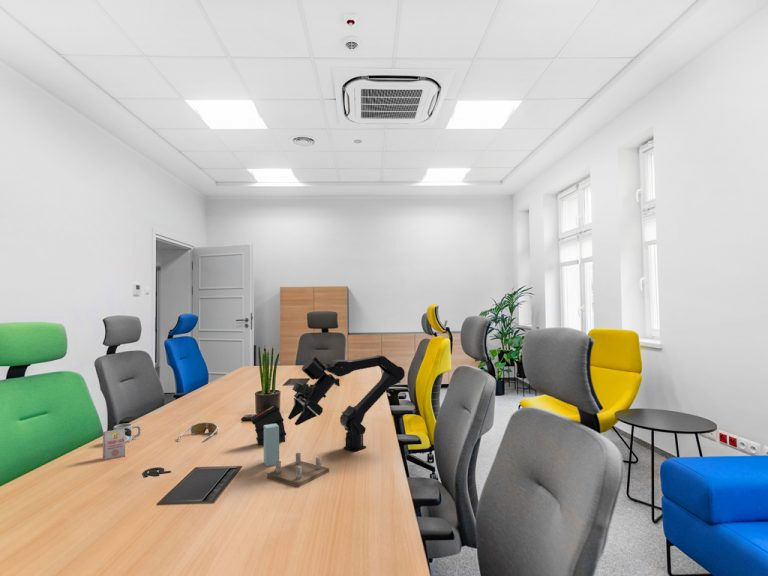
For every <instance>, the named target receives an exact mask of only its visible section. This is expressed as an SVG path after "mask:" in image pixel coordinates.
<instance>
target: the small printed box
mask: <svg viewBox="0 0 768 576" xmlns="http://www.w3.org/2000/svg"><path fill="white" fill-rule="evenodd" d="M124 457H126V443H125V428H124V429H118V430H114V429H113V430H106V431H103V433H102V461H108V460H110V461H111V460H115V459H119V458H124Z"/></svg>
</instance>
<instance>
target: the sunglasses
mask: <svg viewBox="0 0 768 576" xmlns="http://www.w3.org/2000/svg"><path fill="white" fill-rule="evenodd" d="M189 431H190V434H191V435H196V434H195V433H197V434H204V433H206V431H208V433H209V434H210V435H209V436H207V437H206V438H204V439H203V440H202V441H201V442H200V444H202V443H204V442H206V441H207V440H208V439H210V438H211V437H212V436H213V435H216V436H217V435H218V433H219V426H218V424H216V422H211V421H202V422H201V421H200V422H197V423H195V424H192V425H191V426H189V427H188V428H187V429H185V430H184V431H182V433H181V434H180V435H179V438H178V442H180V439H181V438H182V436H183V435H184V434H185V433H186V432H189ZM214 433H215V434H214Z"/></svg>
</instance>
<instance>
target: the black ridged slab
mask: <svg viewBox="0 0 768 576" xmlns="http://www.w3.org/2000/svg"><path fill="white" fill-rule="evenodd" d="M250 419H251V424H252V425H254V428H255V429H254V430H255V434H256V438H255V439H256V442H257V446H264V425H269V424H277V425H278V426H279V443H282V442H283V443H284V442H286V436H287V432H286V430H285V424H284V421H285V420H284V418H283V417H282V413H281V411H280V407H279V406H278V405H277V404H276V403H274V404H272V405H271V406H269V407H267V408H265V409H264V410H262V411H260V412H257V414H255V415H253V416H252V417H251V416H250Z"/></svg>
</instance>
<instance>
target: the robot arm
mask: <svg viewBox="0 0 768 576" xmlns="http://www.w3.org/2000/svg"><path fill="white" fill-rule="evenodd" d="M375 367H379V368H380V370H381V371H383V372H382V375H381V378H380V380H378V381H377V383H376V384H375V385H374V386H373V387H372V388H371V389H370V390H369V391H368V392H367V393H366V395H364V396H363V398H362V399H361V400H360V401H359V402H358V403H357V404H356V405H354V406H352V405H348V406H346V409H344V411H341V415H340V417H339V422H340V425H341V426H342V427H343V428H344V430H345V431H346V432H345V438H344V439H345V441H344V442H345V445H344V446H343V449H345V450H347V451H351V452H358V451H360V450H363V449H366V448H367V446H366V445H364V434H365V433H366V430H367V428H366V427H365V426H364V425H363V424H362V422H363V421H364V418H365V416H366V413H367V412H368V411H369V410H370V409H371V408H372V407H373V406H374V405H375V403H376V402H378V400H380V398H381V397H382V396H383V395H384V394H385V393H386V392H387V391H388V390H389V389H390V387H393V386H395V385H397V384H398V383H400V382H401V381H403V379H404V378H405V369H404V368H403V367H402V366H399V365H397V364H396V363H394V362H392V361H391V360H390V359H388V358H387V357H386V356H385V355H381V354H377V355H373V356H370V357H362V358H356V359H351V360H348V359H333V360H331V361H330V362H329V363H326V364H323V363H322V362H321V361H320V360H319V359H318V358H317V357H316V356H313V357H312V358H310V359H309V360H307V361H306V362H304V364H303V366H302V367H301V371H302V372H304V373H305V374H306V376H308V377H309V378H310V379H311V380H312V381H313V380H316V381H315V382H314V383H313V384H309V383H306V382H303V383H300V382H298V381H295V383H294V385H293V387H292V391H294V392H295V394H294V395H293V402H294V403H293V406H292V408H291V411H290V412H289V415H288V417H287V419H288V420H292V419H294V418H295V417H297V416H298V415H299V416H298V417H297V419H296V421H295V422H294V425H295V426H299V425H301V424H302V423H305V422H307V421H309V420H311V419H313V418H315V417H318V416H319V417H320V416H321V415H322V413H323V412H324V411H323V410H324V409H323V407H322V405H320V404H319V403H320V402H321V400H322V399H323V398H324V399H325V398H326V397H327V393H328V392H329V390H331V388H332V387H333V386H334V385H335V386H336V387H340V385H341V384H340V378H336V377H343V376H347V375H348V374H350V373H352V372H355V371H358V370H359V371H361V370H364V369H369V368H370V369H371V368H375ZM327 372H328V373H329V374H328V373H327ZM333 375H334V376H333ZM335 376H336V377H335Z"/></svg>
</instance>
